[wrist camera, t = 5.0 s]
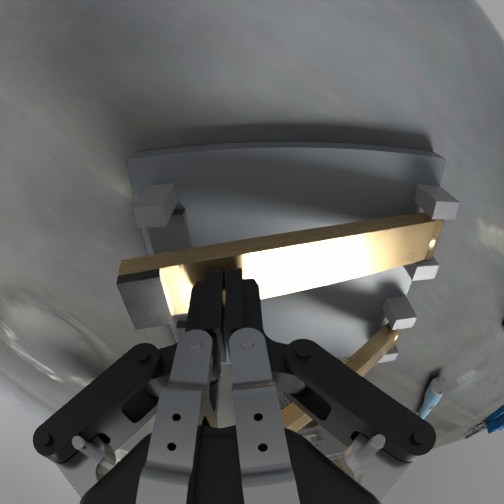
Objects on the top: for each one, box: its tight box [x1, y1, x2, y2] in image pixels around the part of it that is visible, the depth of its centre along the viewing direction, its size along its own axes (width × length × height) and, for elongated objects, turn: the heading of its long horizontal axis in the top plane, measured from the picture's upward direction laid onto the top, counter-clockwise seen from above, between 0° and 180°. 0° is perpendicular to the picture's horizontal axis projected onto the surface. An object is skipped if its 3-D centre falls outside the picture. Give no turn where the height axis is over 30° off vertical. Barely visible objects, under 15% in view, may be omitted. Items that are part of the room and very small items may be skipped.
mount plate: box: [126, 141, 460, 364], centre depth 20 cm, size 20×20×4 cm
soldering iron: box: [465, 406, 504, 439], centre depth 67 cm, size 35×31×18 cm
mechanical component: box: [296, 424, 347, 460], centre depth 28 cm, size 3×10×10 cm, turn 103°
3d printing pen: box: [418, 376, 446, 419], centre depth 39 cm, size 19×3×3 cm, turn 18°
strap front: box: [117, 212, 444, 329], centre depth 15 cm, size 19×3×2 cm, turn 92°
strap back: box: [281, 322, 402, 432], centre depth 18 cm, size 19×3×2 cm
